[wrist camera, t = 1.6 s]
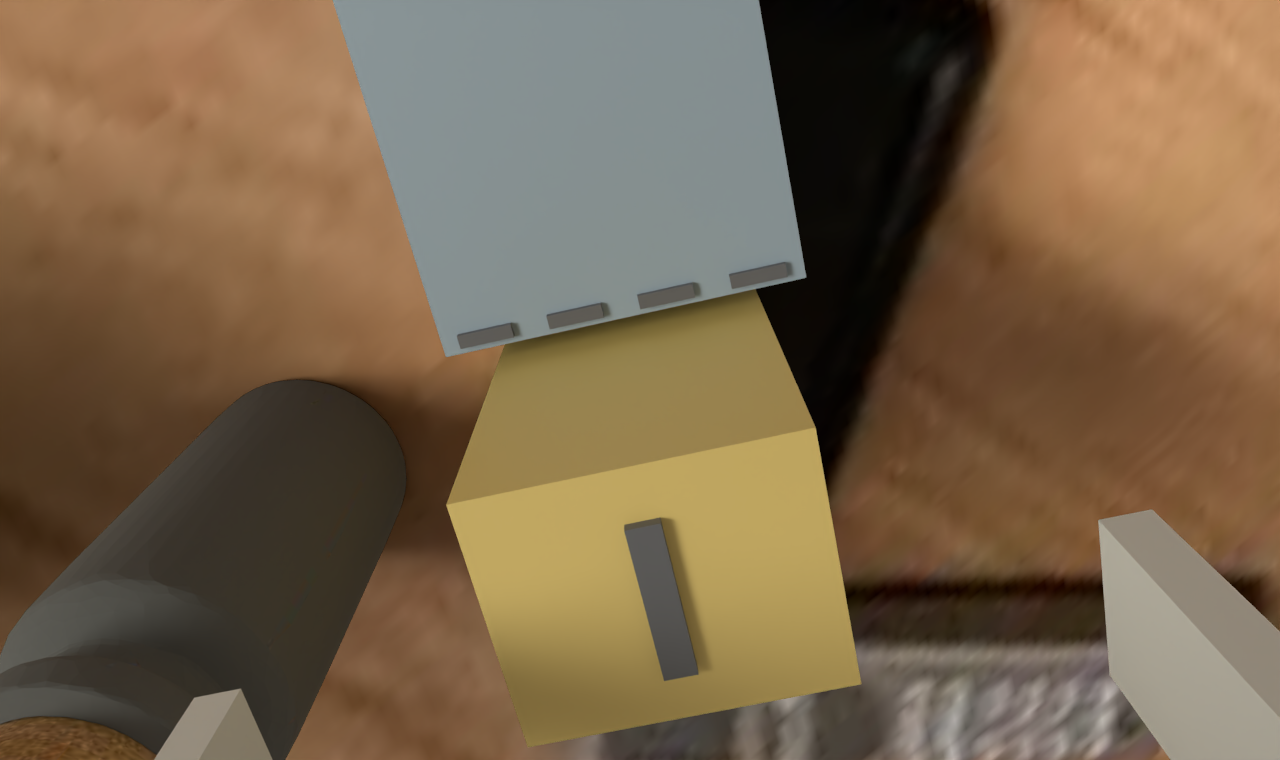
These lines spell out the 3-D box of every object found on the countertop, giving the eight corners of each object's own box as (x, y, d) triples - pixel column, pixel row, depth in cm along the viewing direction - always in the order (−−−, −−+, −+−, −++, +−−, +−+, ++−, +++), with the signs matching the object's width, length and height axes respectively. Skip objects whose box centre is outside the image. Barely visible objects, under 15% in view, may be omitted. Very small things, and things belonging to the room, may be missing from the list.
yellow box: (523, 296, 27) (443, 511, 16) (737, 248, 27) (817, 433, 15) (568, 456, 29) (526, 755, 17) (769, 414, 28) (864, 691, 17)
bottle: (388, 367, 28) (147, 733, 14) (424, 546, 30) (244, 1018, 16) (187, 385, 28) (-251, 765, 14) (236, 562, 30) (-104, 1044, 16)
